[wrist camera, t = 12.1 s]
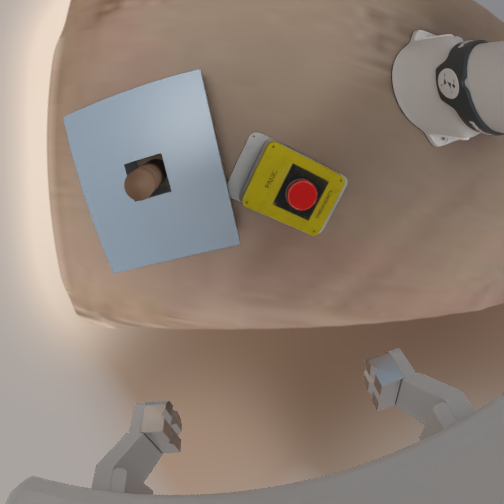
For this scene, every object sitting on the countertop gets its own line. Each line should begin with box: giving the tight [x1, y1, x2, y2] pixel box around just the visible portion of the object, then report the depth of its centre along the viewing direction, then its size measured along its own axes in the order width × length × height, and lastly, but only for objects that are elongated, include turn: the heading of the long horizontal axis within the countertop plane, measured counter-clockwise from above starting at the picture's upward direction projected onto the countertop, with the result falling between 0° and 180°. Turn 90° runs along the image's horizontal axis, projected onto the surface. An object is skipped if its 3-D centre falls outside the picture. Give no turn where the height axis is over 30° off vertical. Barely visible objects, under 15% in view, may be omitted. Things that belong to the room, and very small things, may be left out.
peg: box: [124, 159, 167, 201], centre depth 33 cm, size 3×3×9 cm
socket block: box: [63, 69, 240, 274], centre depth 34 cm, size 17×21×5 cm
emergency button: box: [227, 132, 348, 236], centre depth 38 cm, size 9×4×15 cm
